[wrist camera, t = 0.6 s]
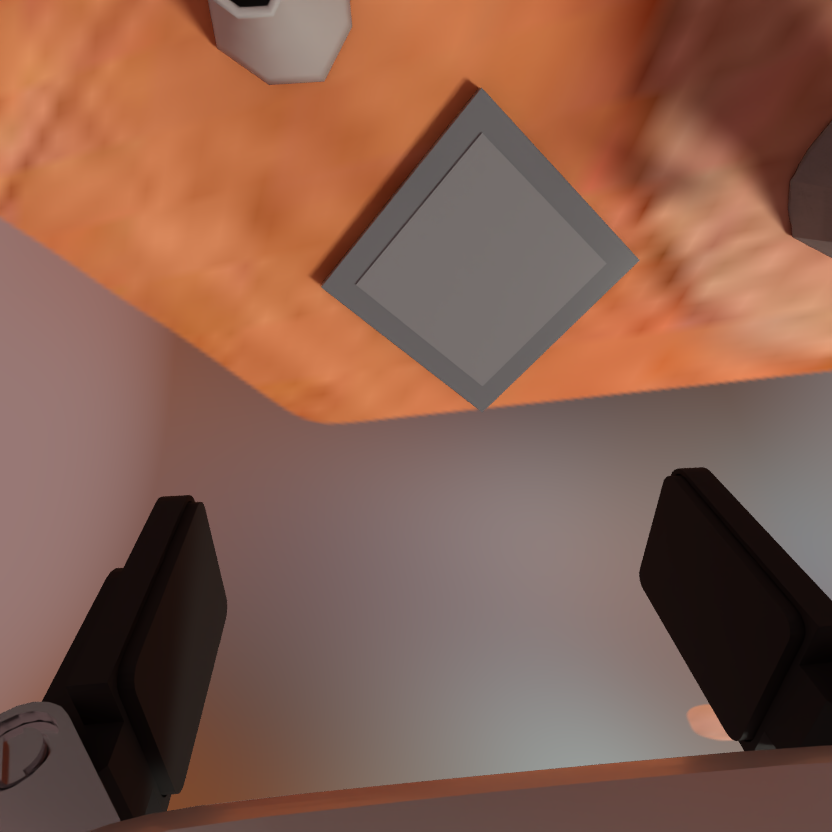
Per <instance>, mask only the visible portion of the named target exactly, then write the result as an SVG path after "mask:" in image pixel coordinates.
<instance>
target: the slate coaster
mask: <svg viewBox="0 0 832 832" xmlns="http://www.w3.org/2000/svg"><path fill="white" fill-rule="evenodd" d="M638 261H639V259H638V258H637V257H636V256H635V255H634V254H633V253H632V252H631V250H630V249H629V248H628V247H627V246H626V245H625V244H624V243H623V242H622V241H621V240H620V238H619V237H618V236H617V235H616V234H615V233H614V232H613V231H612V230H611V229H610V228H609V226H608V225H607V224H606V223H605V222H604V221H603V220H602V219H601V218H600V217H599V215H598V214H597V213H596V212H595V211H594V210H593V209H592V208H591V207H590V206H589V205H588V203H587V202H586V201H585V200H584V199H583V198H582V197H581V196H580V195H579V194H578V193H577V191H576V190H575V189H574V188H573V187H572V186H571V185H570V184H569V183H568V182H567V181H566V179H565V178H564V177H563V176H562V175H561V174H560V173H559V172H558V171H557V170H556V168H555V167H554V166H553V165H552V164H551V163H550V162H549V161H548V160H547V159H546V158H545V156H544V155H543V154H542V153H541V152H540V151H539V150H538V149H537V148H536V147H535V146H534V144H533V143H532V142H531V141H530V140H529V139H528V138H527V137H526V136H525V135H524V134H523V132H522V131H521V130H520V129H519V128H518V127H517V126H516V125H515V124H514V123H513V121H512V120H511V119H510V118H509V117H508V116H507V115H506V114H505V113H504V112H503V111H502V109H501V108H500V107H499V106H498V105H497V104H496V103H495V102H494V101H493V100H492V99H491V97H490V96H489V95H488V94H487V93H486V92H485V91H484V90H483V89H482V88H478V90H477V91H476V92H475V93H474V95H473V96H472V97H471V98H470V100H469V101H468V102H467V103H466V105H465V106H464V107H463V108H462V110H461V111H460V112H459V113H458V115H457V116H456V117H455V118H454V120H453V121H452V122H451V123H450V125H449V126H448V127H447V128H446V130H445V131H444V132H443V133H442V135H441V136H440V137H439V138H438V140H437V141H436V142H435V143H434V145H433V146H432V147H431V148H430V150H429V151H428V152H427V153H426V155H425V156H424V157H423V158H422V159H421V161H420V162H419V163H418V164H417V166H416V167H415V168H414V169H413V171H412V172H411V173H410V174H409V176H408V177H407V178H406V179H405V181H404V182H403V183H402V184H401V186H400V187H399V188H398V189H397V191H396V192H395V193H394V194H393V196H392V197H391V198H390V199H389V201H388V202H387V203H386V204H385V206H384V207H383V208H382V209H381V211H380V212H379V213H378V214H377V216H376V217H375V218H374V219H373V221H372V222H371V223H370V224H369V226H368V227H367V228H366V229H365V230H364V232H363V233H362V234H361V235H360V237H359V238H358V239H357V240H356V242H355V243H354V244H353V245H352V247H351V248H350V249H349V250H348V252H347V253H346V254H345V255H344V257H343V258H342V259H341V260H340V262H339V263H338V264H337V265H336V267H335V268H334V269H333V270H332V272H331V273H330V274H329V275H328V277H327V278H326V279H325V280H324V282H323V283H322V286H321V287H322V288H323V289H324V290H325V291H327V292H328V293H329V294H331V295H332V296H333V297H334V298H336V299H337V300H338V301H340V302H341V303H342V304H343V305H345V306H346V307H347V308H349V309H350V310H351V311H352V312H354V313H355V314H356V315H358V316H359V317H360V318H361V319H363V320H364V321H365V322H367V323H368V324H369V325H370V326H372V327H373V328H374V329H376V330H377V331H378V332H379V333H381V334H382V335H383V336H385V337H386V338H387V339H388V340H390V341H391V342H392V343H394V344H395V345H396V346H398V347H399V348H400V349H401V350H403V351H404V352H405V353H407V354H408V355H409V356H410V357H412V358H413V359H414V360H416V361H417V362H418V363H419V364H421V365H422V366H423V367H425V368H426V369H427V370H428V371H430V372H431V373H432V374H434V375H435V376H436V377H437V378H439V379H440V380H441V381H443V382H444V383H445V384H446V385H448V386H449V387H450V388H452V389H453V390H454V391H455V392H457V393H458V394H459V395H461V396H462V397H463V398H464V399H466V400H467V401H468V402H470V403H471V404H472V405H473V406H475V407H476V408H477V409H479V410H480V411H481V412H483V411H484V410H485V409H486V408H487V407H488V406H489V405H490V404H492V403H493V402H494V401H495V400H496V399H497V398H498V397H499V396H500V395H501V394H502V393H503V392H504V391H505V390H506V389H507V388H508V387H509V386H510V385H511V384H512V383H513V382H514V381H515V380H516V379H517V378H518V377H519V376H520V375H521V374H523V373H524V372H525V371H526V370H527V369H528V368H529V367H530V366H531V365H532V364H533V363H534V362H535V361H536V360H537V359H538V358H539V357H540V356H541V355H542V354H543V353H544V352H545V351H546V350H547V349H548V348H549V347H550V346H551V345H552V344H554V343H555V342H556V341H557V340H558V339H559V338H560V337H561V336H562V335H563V334H564V333H565V332H566V331H567V330H568V329H569V328H570V327H571V326H572V325H573V324H574V323H575V322H576V321H577V320H578V319H579V318H580V317H581V316H582V315H583V314H585V313H586V312H587V311H588V310H589V309H590V308H591V307H592V306H593V305H594V304H595V303H596V302H597V301H598V300H599V299H600V298H601V297H602V296H603V295H604V294H605V293H606V292H607V291H608V290H609V289H610V288H611V287H612V286H613V285H614V284H616V283H617V282H618V281H619V280H620V279H621V278H622V277H623V276H624V275H625V274H626V273H627V272H628V271H629V270H630V269H631V268H632V267H633V266H634V265H635V264H636V263H637V262H638Z"/></svg>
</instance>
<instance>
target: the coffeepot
mask: <svg viewBox="0 0 832 832" xmlns="http://www.w3.org/2000/svg"><path fill="white" fill-rule="evenodd" d="M788 211H789V218H790V222H791V225H792V237H793V238H795V239H797V240H799V241H801V242H803V243H804V244H806V245H808V246H810V247H812V248H814V249H816V250H818V251H820V252H822V253H823V254H825V255H827V256H829V257H831V258H832V121H831V122H830V124H829V125H828V126H827V127H826V128H825V130H824V131H823V132H822V133H821V134H820V135H819V137H818V138H817V139H816V140H815V142H814V143H813V144H812V145H811V147H810V148H809V149H808V151H807V152H806V154H805V156H804V157H803V159H802V161H801V162H800V164H799V166H798V168H797V171H796V173H795V175H794V176H793V178H792V179H791V181H790V189H789V202H788Z"/></svg>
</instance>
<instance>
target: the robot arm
mask: <svg viewBox="0 0 832 832" xmlns="http://www.w3.org/2000/svg"><path fill="white" fill-rule="evenodd" d="M639 574H640V575H639V577H640V582H641V585H642V588H643V590H644V591H645V593H646V595H647V596H648V598H649V600H650V602H651V603H652V605H653V607H654V609H655V610H656V612H657V614H658V615H659V617H660V619H661V621H662V622H663V624H664V626H665V628H666V629H667V631H668V633H669V634H670V636H671V638H672V640H673V641H674V643H675V645H676V646H677V648H678V650H679V652H680V654H681V655H682V657H683V659H684V660H685V662H686V664H687V665H688V667H689V669H690V671H691V672H692V674H693V676H694V678H695V679H696V681H697V683H698V684H699V686H700V688H701V690H702V692H703V693H704V695H705V697H706V698H707V700H708V702H709V704H710V705H711V707H712V709H713V711H714V712H715V714H716V716H717V718H718V719H719V721H720V723H721V724H722V726H723V728H724V730H725V731H726V733H727V734H728V736H729V737H730V738H731V739H733V740H735V741H739V743H740V744H741V746H742V748H743V750H744V751H743V752H732V753H720V754H708V755H698V756H687V757H676V758H664V759H653V760H642V761H631V762H620V763H610V764H598V765H588V766H578V767H568V768H556V769H547V770H535V771H525V772H516V773H504V774H494V775H483V776H473V777H463V778H453V779H442V780H433V781H422V782H412V783H402V784H393V785H383V786H373V787H363V788H353V789H343V790H334V791H324V792H314V793H304V794H295V795H286V796H278V797H269V798H261V799H252V800H245V801H236V802H227V803H219V804H211V805H202V806H195V807H189V808H183V809H178V810H171V811H167V808H168V805H169V800H170V797H171V794H178V793H180V792H181V790H182V788H183V785H184V781H185V778H186V774H187V770H188V766H189V762H190V758H191V754H192V750H193V746H194V742H195V738H196V734H197V731H198V727H199V723H200V719H201V715H202V710H203V707H204V703H205V699H206V695H207V691H208V687H209V683H210V679H211V675H212V671H213V667H214V663H215V659H216V655H217V651H218V647H219V644H220V640H221V636H222V632H223V628H224V624H225V620H226V615H227V599H226V595H225V590H224V586H223V582H222V578H221V574H220V569H219V565H218V561H217V556H216V552H215V548H214V544H213V540H212V535H211V531H210V527H209V523H208V519H207V515H206V510H205V507H204V504H203V503H202V502H195V501H194V498H193V497H192V496H190V495H184V496H165V497H160V498H159V499H158V500H157V502H156V503H155V505H154V508H153V509H152V512H151V514H150V516H149V518H148V520H147V522H146V524H145V526H144V528H143V530H142V532H141V534H140V536H139V538H138V540H137V542H136V544H135V546H134V548H133V550H132V552H131V554H130V556H129V558H128V560H127V562H126V564H125V566H124V568H116V569H114V570H113V571H112V572H110V574H109V575H108V577H107V578H106V580H105V582H104V584H103V586H102V587H101V589H100V591H99V593H98V595H97V597H96V599H95V601H94V603H93V605H92V607H91V609H90V610H89V612H88V614H87V616H86V618H85V620H84V622H83V624H82V626H81V628H80V629H79V631H78V633H77V635H76V637H75V639H74V641H73V643H72V645H71V647H70V649H69V651H68V652H67V654H66V656H65V658H64V660H63V662H62V664H61V666H60V668H59V670H58V672H57V674H56V676H55V677H54V679H53V681H52V683H51V685H50V687H49V689H48V691H47V693H46V695H45V697H44V699H43V700H42V702H31V703H27V704H23V705H19V706H16V707H14V708H12V709H9V710H7V711H6V712H3V713H1V714H0V832H832V601H831V599H830V598H829V597H828V596H827V595H826V594H825V593H824V592H823V591H822V590H821V589H820V588H819V587H818V586H817V584H816V583H815V582H814V581H813V580H812V579H811V578H810V577H809V576H808V575H807V574H806V573H805V572H804V571H803V570H802V569H801V568H800V566H799V565H798V564H797V563H796V562H795V561H794V560H793V559H792V558H791V557H790V556H789V555H788V554H787V553H786V551H785V550H784V549H783V548H782V547H781V546H780V545H779V544H778V543H777V542H776V541H775V540H774V539H773V538H772V537H771V536H770V534H769V533H768V532H767V531H766V530H765V529H764V528H763V527H762V526H761V525H760V524H759V523H758V522H757V521H756V520H755V519H754V517H753V516H752V515H751V514H750V513H749V512H748V511H747V510H746V509H745V508H744V507H743V506H742V505H741V504H740V503H739V502H738V500H737V499H736V498H735V497H734V496H733V495H732V494H731V493H730V492H729V491H728V490H727V489H726V488H725V487H724V485H723V484H722V483H721V482H720V481H719V480H718V479H717V478H716V477H715V476H714V475H713V474H712V473H711V472H710V471H709V470H708V469H706V468H703V467H700V468H681V469H676V470H674V471H673V472H672V474H671V476H668V477H666V478H665V480H664V482H663V486H662V489H661V493H660V497H659V500H658V504H657V508H656V511H655V515H654V519H653V522H652V526H651V530H650V534H649V538H648V541H647V545H646V548H645V552H644V556H643V560H642V563H641V567H640V572H639Z"/></svg>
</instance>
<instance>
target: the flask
mask: <svg viewBox="0 0 832 832" xmlns="http://www.w3.org/2000/svg"><path fill="white" fill-rule="evenodd" d="M208 4H209V9H210V14H211V20H212V25H213V30H214V35H215V40H216V45H217V48H218V49H219V50H220V51H222V52H223V53H225V54H226V55H227V56H229V57H230V58H232V59H233V60H235V61H236V62H237V63H239V64H240V65H242V66H243V67H245V68H246V69H247V70H249V71H250V72H252V73H253V74H254V75H256V76H257V77H259V78H260V79H262V80H263V81H264V82H266V83H267V84H269V85H275V84H291V83H307V82H323V81H325V79H326V77H327V75H328V73H329V71H330V69H331V67H332V65H333V63H334V61H335V59H336V57H337V55H338V53H339V51H340V49H341V47H342V45H343V43H344V42H345V40H346V38H347V36H348V34H349V32H350V30H351V28H352V19H351V9H350V0H208Z"/></svg>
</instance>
